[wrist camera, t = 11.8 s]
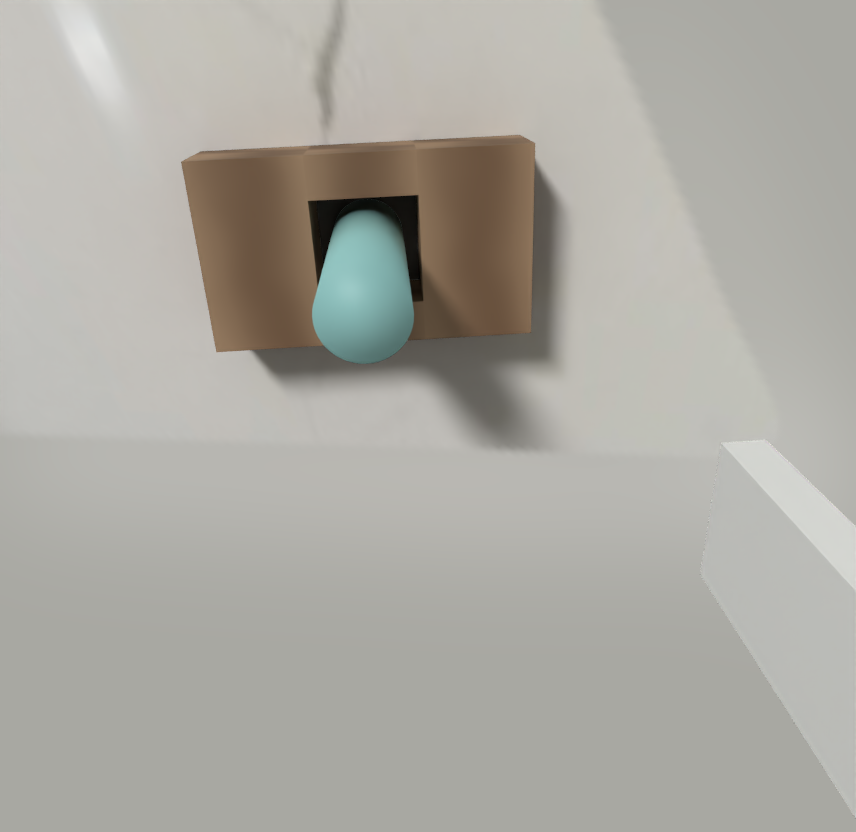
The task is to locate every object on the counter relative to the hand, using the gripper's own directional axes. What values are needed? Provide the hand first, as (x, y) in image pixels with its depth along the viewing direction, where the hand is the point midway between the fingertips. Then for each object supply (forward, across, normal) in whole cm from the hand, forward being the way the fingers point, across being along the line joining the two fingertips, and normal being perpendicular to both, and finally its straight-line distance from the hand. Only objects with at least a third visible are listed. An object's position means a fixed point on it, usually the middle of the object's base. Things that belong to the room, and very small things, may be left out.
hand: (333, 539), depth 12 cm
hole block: (+24, 0, 0) cm, 24 cm away
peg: (+24, 0, 0) cm, 24 cm away
